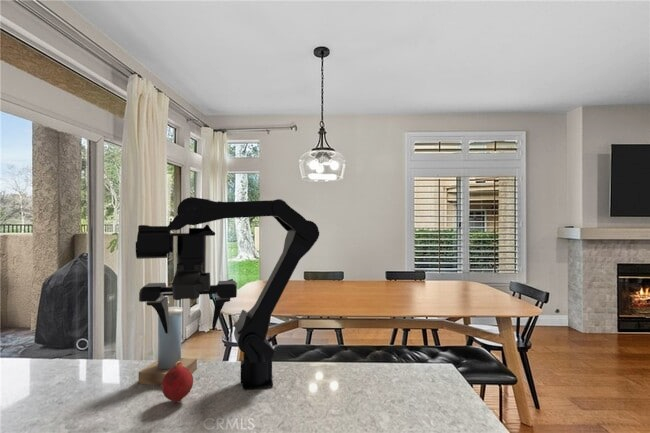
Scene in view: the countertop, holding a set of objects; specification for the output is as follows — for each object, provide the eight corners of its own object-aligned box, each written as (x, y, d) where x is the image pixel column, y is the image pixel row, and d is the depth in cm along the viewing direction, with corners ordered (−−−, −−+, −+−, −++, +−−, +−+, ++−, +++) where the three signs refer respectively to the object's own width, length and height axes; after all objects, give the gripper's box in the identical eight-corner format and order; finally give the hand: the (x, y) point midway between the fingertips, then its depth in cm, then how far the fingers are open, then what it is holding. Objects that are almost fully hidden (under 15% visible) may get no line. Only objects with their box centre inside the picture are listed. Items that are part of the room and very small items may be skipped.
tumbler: (185, 360, 84) (186, 306, 84) (176, 370, 79) (177, 312, 79) (163, 360, 84) (163, 306, 84) (152, 370, 79) (153, 312, 79)
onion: (181, 411, 66) (181, 369, 66) (154, 408, 67) (155, 366, 68) (198, 396, 72) (198, 357, 72) (173, 393, 73) (174, 355, 73)
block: (196, 369, 85) (196, 359, 85) (175, 386, 76) (175, 374, 76) (162, 366, 87) (163, 356, 87) (138, 383, 78) (138, 372, 78)
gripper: (131, 262, 64) (129, 348, 63) (236, 260, 68) (235, 341, 68) (147, 256, 74) (146, 330, 74) (237, 255, 79) (236, 324, 78)
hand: (190, 331), depth 73 cm, fingers open, 9 cm apart
